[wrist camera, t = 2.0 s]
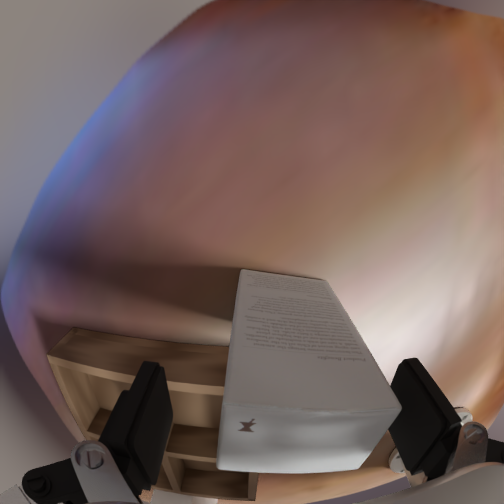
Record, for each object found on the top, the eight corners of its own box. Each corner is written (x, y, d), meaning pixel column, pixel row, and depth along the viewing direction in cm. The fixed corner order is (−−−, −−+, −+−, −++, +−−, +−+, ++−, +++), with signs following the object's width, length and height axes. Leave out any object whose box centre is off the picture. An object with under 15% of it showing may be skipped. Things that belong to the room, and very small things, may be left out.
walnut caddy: (265, 348, 20) (267, 388, 16) (255, 470, 25) (255, 500, 21) (73, 327, 20) (46, 354, 16) (120, 450, 25) (109, 476, 21)
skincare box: (232, 323, 20) (210, 470, 8) (240, 266, 19) (218, 401, 7) (315, 333, 20) (359, 472, 8) (330, 279, 19) (408, 405, 7)
